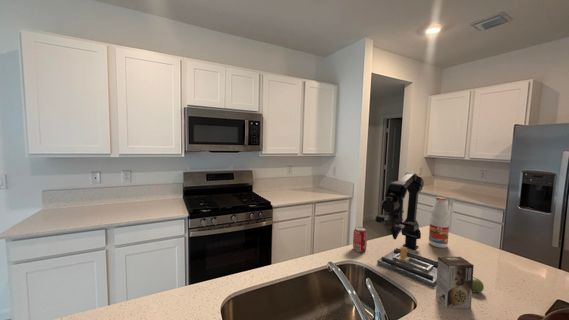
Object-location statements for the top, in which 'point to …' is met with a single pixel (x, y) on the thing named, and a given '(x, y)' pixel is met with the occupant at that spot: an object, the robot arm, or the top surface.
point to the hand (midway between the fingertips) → (394, 239)
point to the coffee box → (454, 282)
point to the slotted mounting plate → (414, 258)
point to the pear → (477, 285)
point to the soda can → (360, 239)
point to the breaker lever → (403, 254)
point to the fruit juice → (439, 224)
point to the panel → (413, 264)
